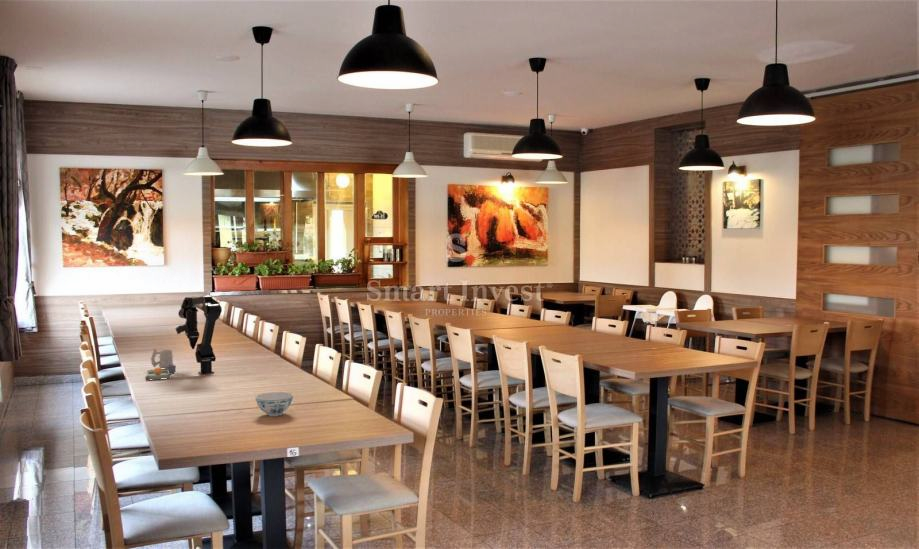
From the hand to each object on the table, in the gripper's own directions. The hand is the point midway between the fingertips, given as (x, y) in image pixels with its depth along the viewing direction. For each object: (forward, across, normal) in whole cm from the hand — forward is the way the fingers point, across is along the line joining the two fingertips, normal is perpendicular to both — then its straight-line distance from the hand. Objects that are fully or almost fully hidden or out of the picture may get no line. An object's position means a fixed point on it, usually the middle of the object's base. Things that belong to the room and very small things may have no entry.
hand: (192, 348), depth 431 cm
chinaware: (+12, +130, +22) cm, 132 cm away
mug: (+12, -11, -15) cm, 23 cm away
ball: (+9, +18, -18) cm, 27 cm away
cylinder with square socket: (+12, +6, -12) cm, 18 cm away
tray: (+12, +18, -18) cm, 28 cm away
